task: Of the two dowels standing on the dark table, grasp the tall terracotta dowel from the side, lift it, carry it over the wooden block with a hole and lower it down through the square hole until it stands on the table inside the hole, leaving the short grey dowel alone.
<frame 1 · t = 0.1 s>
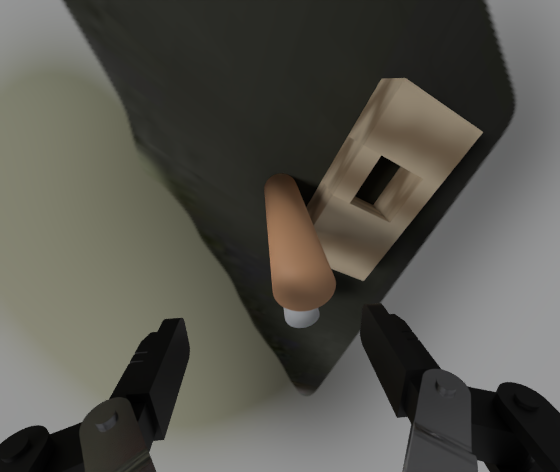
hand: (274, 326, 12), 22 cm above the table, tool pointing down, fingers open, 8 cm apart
long dowel: (280, 189, 32), on the table
short dowel: (292, 268, 38), on the table
wooden block with hole: (368, 176, 32), on the table
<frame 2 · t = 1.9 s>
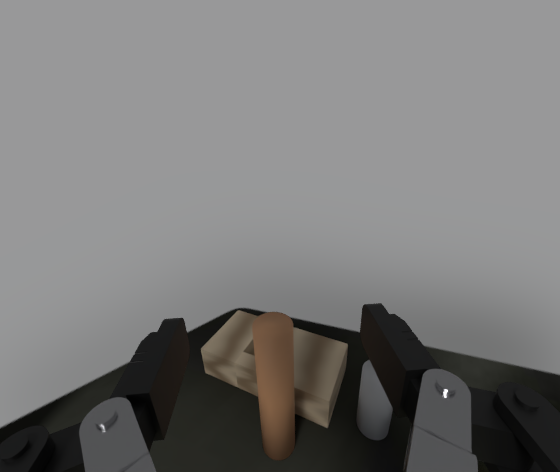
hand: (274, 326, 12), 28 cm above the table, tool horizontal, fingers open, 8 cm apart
long dowel: (278, 441, 33), on the table
short dowel: (372, 423, 34), on the table
wooden block with hole: (270, 368, 43), on the table
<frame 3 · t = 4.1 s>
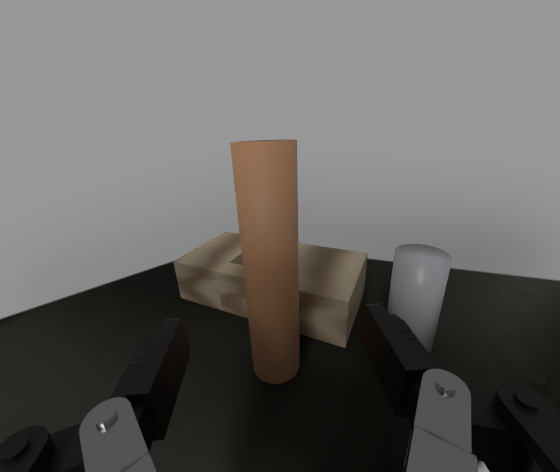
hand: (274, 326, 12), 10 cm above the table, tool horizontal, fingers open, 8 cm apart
long dowel: (276, 363, 23), on the table
short dowel: (407, 341, 24), on the table
wooden block with hole: (265, 292, 33), on the table
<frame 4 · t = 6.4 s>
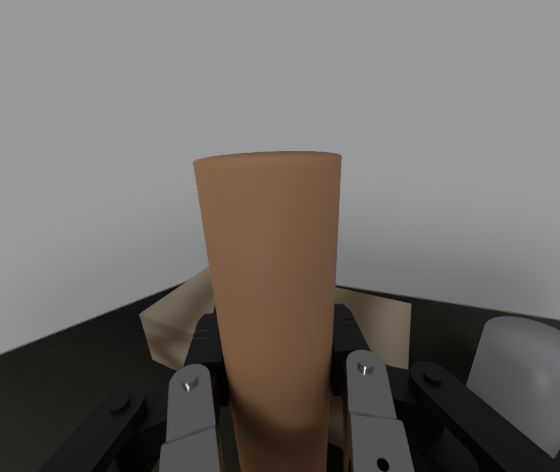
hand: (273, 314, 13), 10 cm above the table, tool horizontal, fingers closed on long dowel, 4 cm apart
short dowel: (488, 460, 16), on the table
wooden block with hole: (267, 351, 24), on the table
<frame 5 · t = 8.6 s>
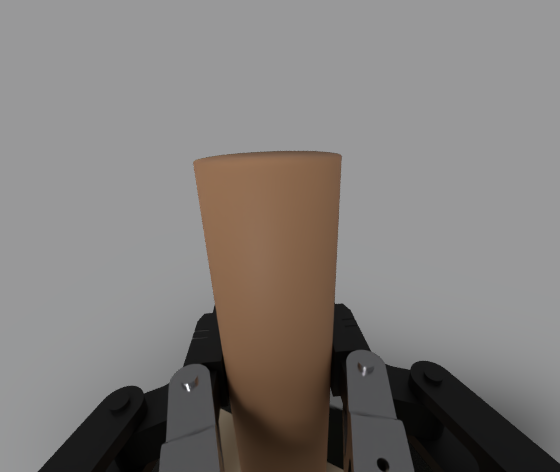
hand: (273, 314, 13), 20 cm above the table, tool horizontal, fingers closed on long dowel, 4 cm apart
when the fingers open (11 cm above the table, at t = 10.8 s): long dowel stays where it is, resting in wooden block with hole.
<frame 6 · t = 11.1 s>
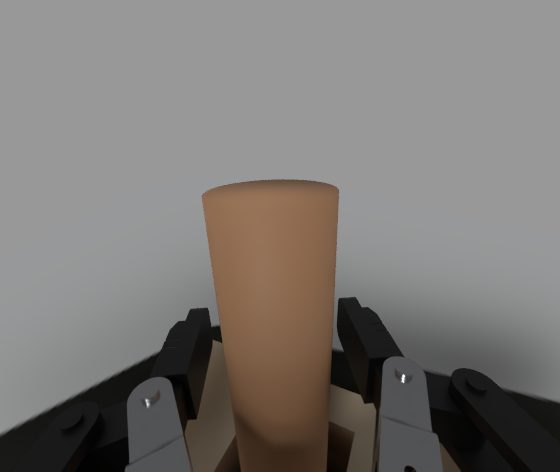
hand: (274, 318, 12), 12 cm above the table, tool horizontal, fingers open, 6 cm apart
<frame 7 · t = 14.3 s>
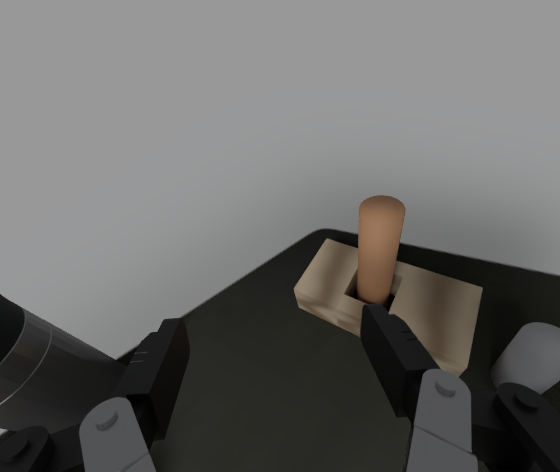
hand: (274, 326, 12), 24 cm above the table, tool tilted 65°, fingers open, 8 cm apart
long dowel: (371, 305, 37), resting in wooden block with hole
short dowel: (513, 380, 28), on the table
wooden block with hole: (371, 304, 37), on the table
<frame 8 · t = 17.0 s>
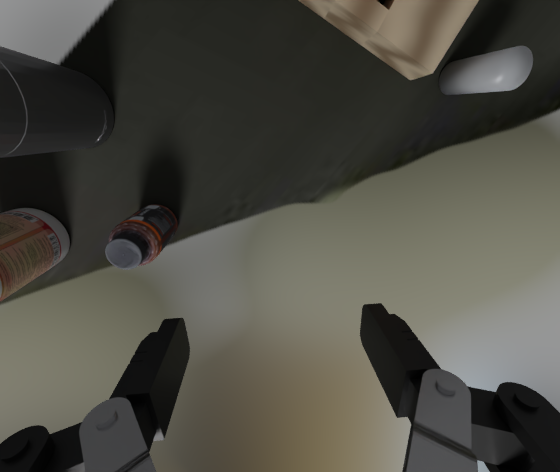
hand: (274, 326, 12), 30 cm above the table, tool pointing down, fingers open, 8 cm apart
white plastic bottle: (39, 235, 40), on the table
short dowel: (452, 78, 36), on the table
supplement bottle: (159, 221, 41), on the table
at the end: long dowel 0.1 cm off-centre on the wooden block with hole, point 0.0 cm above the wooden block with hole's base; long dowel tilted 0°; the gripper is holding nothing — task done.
